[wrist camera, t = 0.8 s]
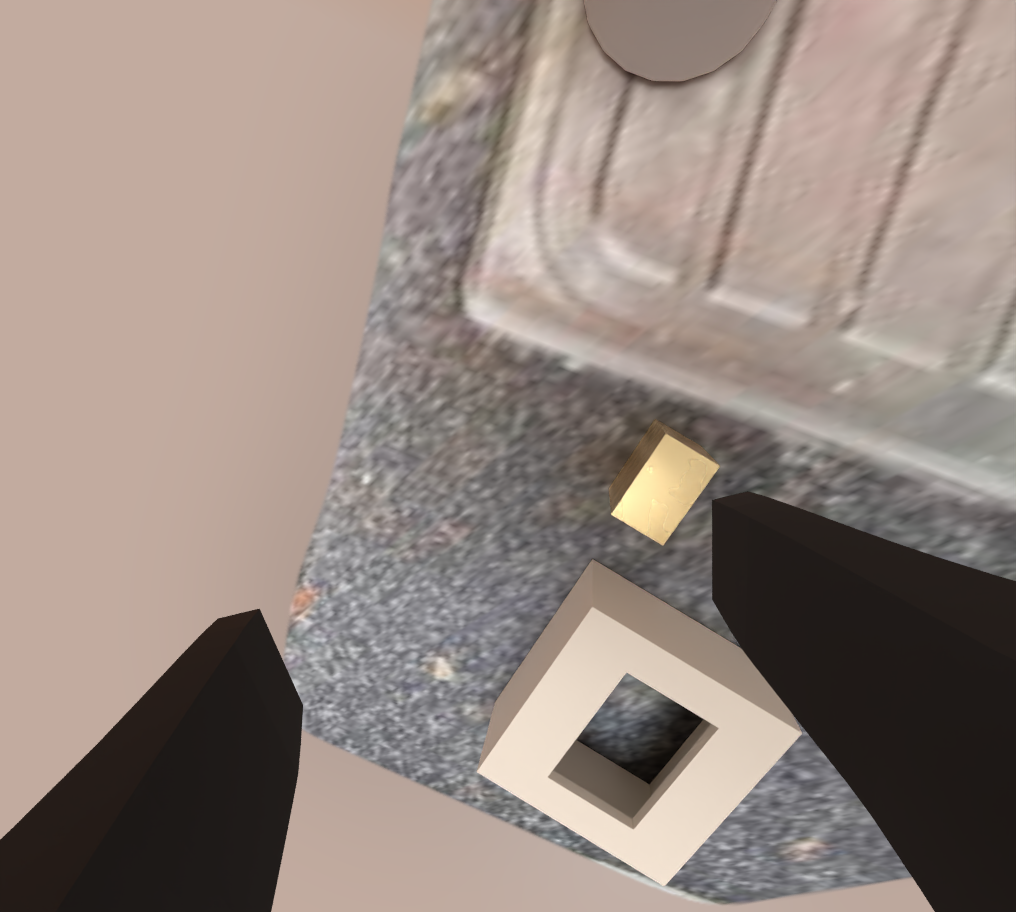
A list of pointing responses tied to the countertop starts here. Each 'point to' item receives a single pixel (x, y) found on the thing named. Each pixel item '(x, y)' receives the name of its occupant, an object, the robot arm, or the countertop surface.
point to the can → (675, 33)
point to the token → (660, 482)
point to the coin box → (584, 688)
